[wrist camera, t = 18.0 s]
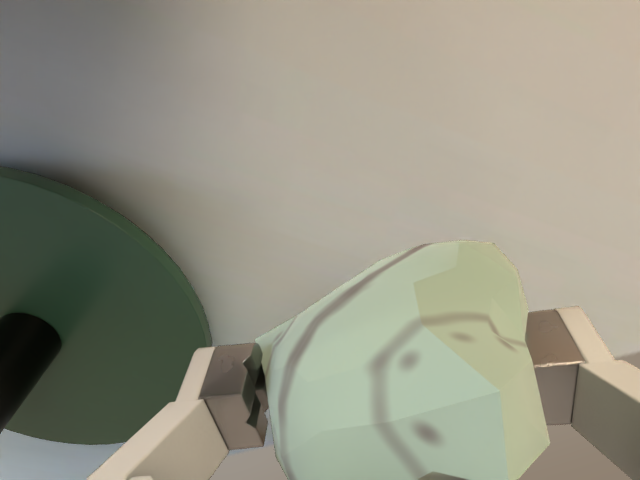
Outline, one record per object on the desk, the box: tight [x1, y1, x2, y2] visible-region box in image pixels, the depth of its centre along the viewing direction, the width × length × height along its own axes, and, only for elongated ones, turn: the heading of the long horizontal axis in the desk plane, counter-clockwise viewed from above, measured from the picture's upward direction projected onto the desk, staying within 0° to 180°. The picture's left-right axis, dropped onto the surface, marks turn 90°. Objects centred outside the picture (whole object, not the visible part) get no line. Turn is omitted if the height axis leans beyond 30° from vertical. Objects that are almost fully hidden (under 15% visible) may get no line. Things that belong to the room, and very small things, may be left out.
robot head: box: [255, 240, 550, 480], centre depth 10 cm, size 8×4×7 cm
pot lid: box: [0, 167, 212, 445], centre depth 17 cm, size 14×14×6 cm
